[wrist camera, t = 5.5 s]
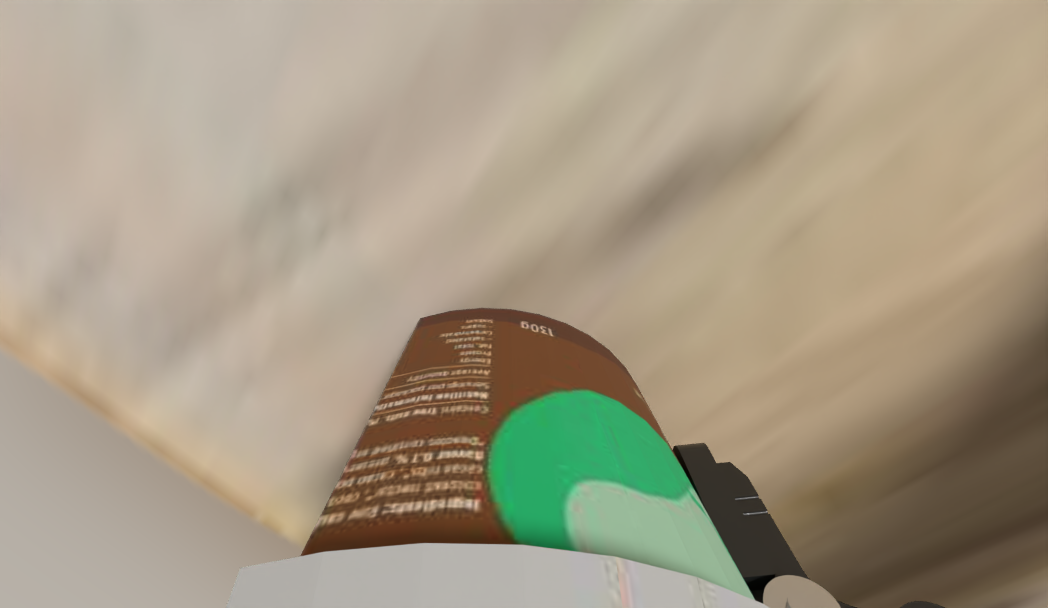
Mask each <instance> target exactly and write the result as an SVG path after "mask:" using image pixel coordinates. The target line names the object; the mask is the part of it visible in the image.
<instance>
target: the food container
mask: <svg viewBox="0 0 1048 608" xmlns="http://www.w3.org/2000/svg"><path fill="white" fill-rule="evenodd" d="M226 608H769V607H768V606H766V605H764V604H763V603H760V602H758V601H755V599H754V597H753V595H752V594H751V592H750V590H749V588H748V586H747V584H746V583H745V581H744V579H743V577H742V575H741V574H740V572H739V570H738V568H737V566H736V564H735V563H734V561H733V559H732V557H731V555H730V554H729V552H728V550H727V548H726V546H725V545H724V543H723V541H722V539H721V537H720V535H719V534H718V532H717V530H716V528H715V526H714V525H713V523H712V521H711V519H710V517H709V516H708V514H707V512H706V510H705V508H704V506H703V505H702V503H701V501H700V499H699V497H698V496H697V494H696V492H695V490H694V488H693V486H692V485H691V483H690V481H689V479H688V477H687V476H686V474H685V472H684V470H683V468H682V467H681V465H680V463H679V461H678V459H677V457H676V456H675V454H674V452H673V450H672V448H671V447H670V445H669V443H668V441H667V439H666V438H665V436H664V434H663V432H662V430H661V428H660V427H659V425H658V423H657V421H656V419H655V418H654V416H653V414H652V412H651V410H650V408H649V407H648V405H647V403H646V401H645V399H644V398H643V396H642V394H641V392H640V390H639V389H638V387H637V385H636V383H635V382H634V380H633V379H632V377H631V375H630V374H629V372H628V371H627V369H626V368H625V366H624V365H623V364H622V363H621V362H620V361H619V360H618V359H617V358H616V357H615V356H614V355H613V354H612V353H611V352H610V350H608V349H607V348H606V347H604V346H603V345H602V344H600V343H599V342H598V341H596V340H595V339H593V338H592V337H591V336H589V335H588V334H586V333H584V332H582V331H580V330H578V329H576V328H574V327H572V326H570V325H568V324H566V323H563V322H560V321H557V320H554V319H551V318H548V317H545V316H542V315H539V314H534V313H528V312H523V311H517V310H512V309H491V308H477V309H466V310H455V311H449V312H445V313H440V314H436V315H432V316H428V317H424V318H420V320H419V322H418V324H417V326H416V328H415V330H414V332H413V334H412V336H411V338H410V340H409V342H408V344H407V346H406V348H405V350H404V352H403V354H402V356H401V358H400V360H399V362H398V364H397V366H396V368H395V370H394V372H393V374H392V376H391V378H390V380H389V381H388V383H387V385H386V387H385V389H384V391H383V393H382V395H381V397H380V399H379V401H378V403H377V405H376V407H375V409H374V411H373V413H372V415H371V417H370V419H369V421H368V423H367V425H366V427H365V429H364V431H363V433H362V435H361V437H360V439H359V441H358V443H357V445H356V447H355V449H354V451H353V453H352V455H351V457H350V459H349V461H348V463H347V465H346V467H345V469H344V471H343V473H342V475H341V477H340V479H339V481H338V483H337V485H336V487H335V489H334V491H333V493H332V495H331V497H330V498H329V500H328V502H327V504H326V506H325V508H324V510H323V512H322V514H321V516H320V518H319V520H318V522H317V524H316V526H315V528H314V530H313V532H312V534H311V536H310V538H309V540H308V542H307V544H306V546H305V548H304V550H303V552H302V554H301V556H300V557H294V558H289V559H284V560H279V561H274V562H269V563H264V564H258V565H253V566H248V567H244V568H240V570H239V573H238V576H237V579H236V581H235V584H234V587H233V590H232V593H231V596H230V598H229V601H228V604H227V607H226Z"/></svg>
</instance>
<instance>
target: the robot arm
mask: <svg viewBox="0 0 1048 608" xmlns="http://www.w3.org/2000/svg"><path fill="white" fill-rule="evenodd" d="M673 452H674V454H675V456H676V457H677V459H678V461H679V463H680V465H681V467H682V468H683V470H684V472H685V474H686V476H687V477H688V479H689V481H690V483H691V485H692V486H693V488H694V490H695V492H696V494H697V496H698V497H699V499H700V501H701V503H702V505H703V506H704V508H705V510H706V512H707V514H708V516H709V517H710V519H711V521H712V523H713V525H714V526H715V528H716V530H717V532H718V534H719V535H720V537H721V539H722V541H723V543H724V545H725V546H726V548H727V550H728V552H729V554H730V555H731V557H732V559H733V561H734V563H735V564H736V566H737V568H738V570H739V572H740V574H741V575H742V577H743V579H744V581H745V583H746V584H747V586H748V588H749V590H750V592H751V594H752V595H753V597H754V599H755V601H758V602H760V603H763V604H764V605H766V606H768V607H769V608H857V607H853V606H849V605H847V604H844V603H841V602H839V601H837V600H835V599H834V597H833V596H832V595H831V594H830V593H829V592H828V591H827V590H825V589H824V588H823V587H821V586H820V585H818V584H816V583H815V582H813V581H811V580H810V579H809V578H808V577H807V576H806V574H805V573H804V571H803V570H802V568H801V566H800V565H799V563H798V561H797V560H796V558H795V556H794V555H793V553H792V551H791V550H790V548H789V546H788V545H787V543H786V541H785V539H784V538H783V536H782V534H781V533H780V531H779V529H778V528H777V526H776V524H775V523H774V521H773V519H772V517H771V516H770V514H768V512H767V509H766V507H765V506H764V504H763V502H762V501H761V499H759V497H758V494H757V492H756V490H755V489H754V487H753V485H752V484H751V482H750V480H749V479H748V477H747V476H746V475H745V474H743V473H742V472H741V471H740V470H739V469H738V468H736V467H735V466H734V465H733V464H732V463H730V462H726V463H716V462H715V460H714V458H713V456H712V454H711V452H710V450H709V449H708V447H707V445H706V444H705V443H698V444H688V445H678V446H674V448H673ZM901 608H945V607H942V606H940V605H937V604H933V603H929V602H922V601H915V602H909V603H907V604H905V605H903V606H902V607H901Z"/></svg>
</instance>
